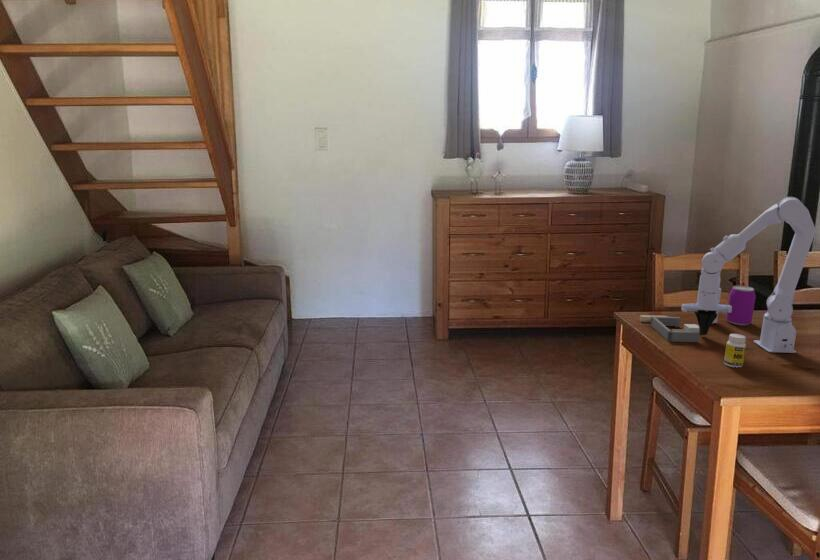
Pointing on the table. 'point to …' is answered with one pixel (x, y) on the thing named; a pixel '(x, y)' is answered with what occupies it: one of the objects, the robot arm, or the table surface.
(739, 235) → the robot arm
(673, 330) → the walnut tile
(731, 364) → the supplement bottle
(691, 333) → the box
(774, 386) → the table surface
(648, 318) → the scraper
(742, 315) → the beverage can
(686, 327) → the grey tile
